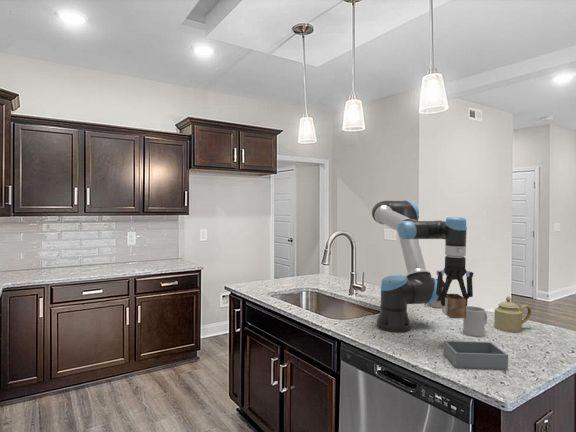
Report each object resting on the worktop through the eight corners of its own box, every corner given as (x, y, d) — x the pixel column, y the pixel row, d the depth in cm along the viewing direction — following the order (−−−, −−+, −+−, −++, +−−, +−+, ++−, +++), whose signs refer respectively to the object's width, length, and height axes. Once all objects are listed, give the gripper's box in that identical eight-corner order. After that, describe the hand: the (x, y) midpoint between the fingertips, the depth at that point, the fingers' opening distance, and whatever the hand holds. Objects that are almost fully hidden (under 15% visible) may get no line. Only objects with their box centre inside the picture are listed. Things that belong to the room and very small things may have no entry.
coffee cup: (440, 309, 207) (441, 282, 206) (423, 306, 214) (424, 279, 214) (449, 306, 213) (449, 280, 213) (432, 303, 221) (432, 277, 220)
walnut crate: (450, 318, 148) (450, 299, 148) (442, 311, 157) (442, 293, 157) (466, 318, 148) (466, 299, 147) (457, 312, 157) (457, 293, 156)
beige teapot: (508, 322, 185) (509, 291, 184) (532, 329, 175) (533, 296, 174) (488, 326, 178) (489, 294, 177) (512, 334, 168) (512, 300, 168)
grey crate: (455, 367, 132) (455, 353, 132) (443, 353, 145) (443, 340, 144) (507, 369, 131) (508, 354, 131) (491, 355, 143) (491, 342, 143)
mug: (475, 337, 163) (475, 312, 162) (458, 331, 170) (459, 307, 170) (494, 334, 168) (494, 309, 168) (477, 328, 175) (478, 304, 175)
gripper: (433, 257, 148) (432, 316, 149) (484, 258, 147) (482, 317, 148) (427, 254, 156) (426, 310, 157) (476, 255, 155) (474, 311, 155)
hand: (453, 313), depth 152 cm, fingers closed on walnut crate, 6 cm apart
